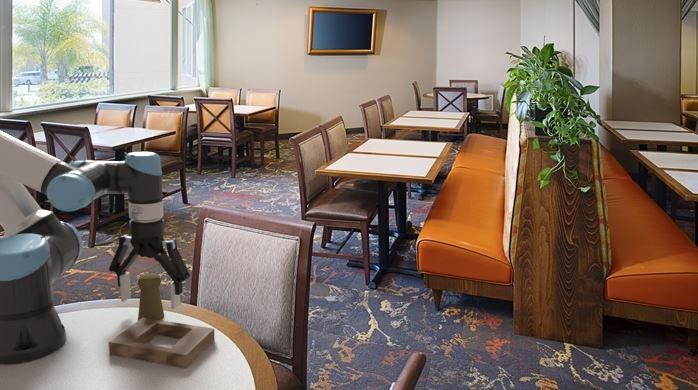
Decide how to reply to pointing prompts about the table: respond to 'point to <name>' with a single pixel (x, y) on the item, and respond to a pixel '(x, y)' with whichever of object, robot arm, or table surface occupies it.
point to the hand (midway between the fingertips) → (150, 302)
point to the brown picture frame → (178, 355)
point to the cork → (150, 297)
